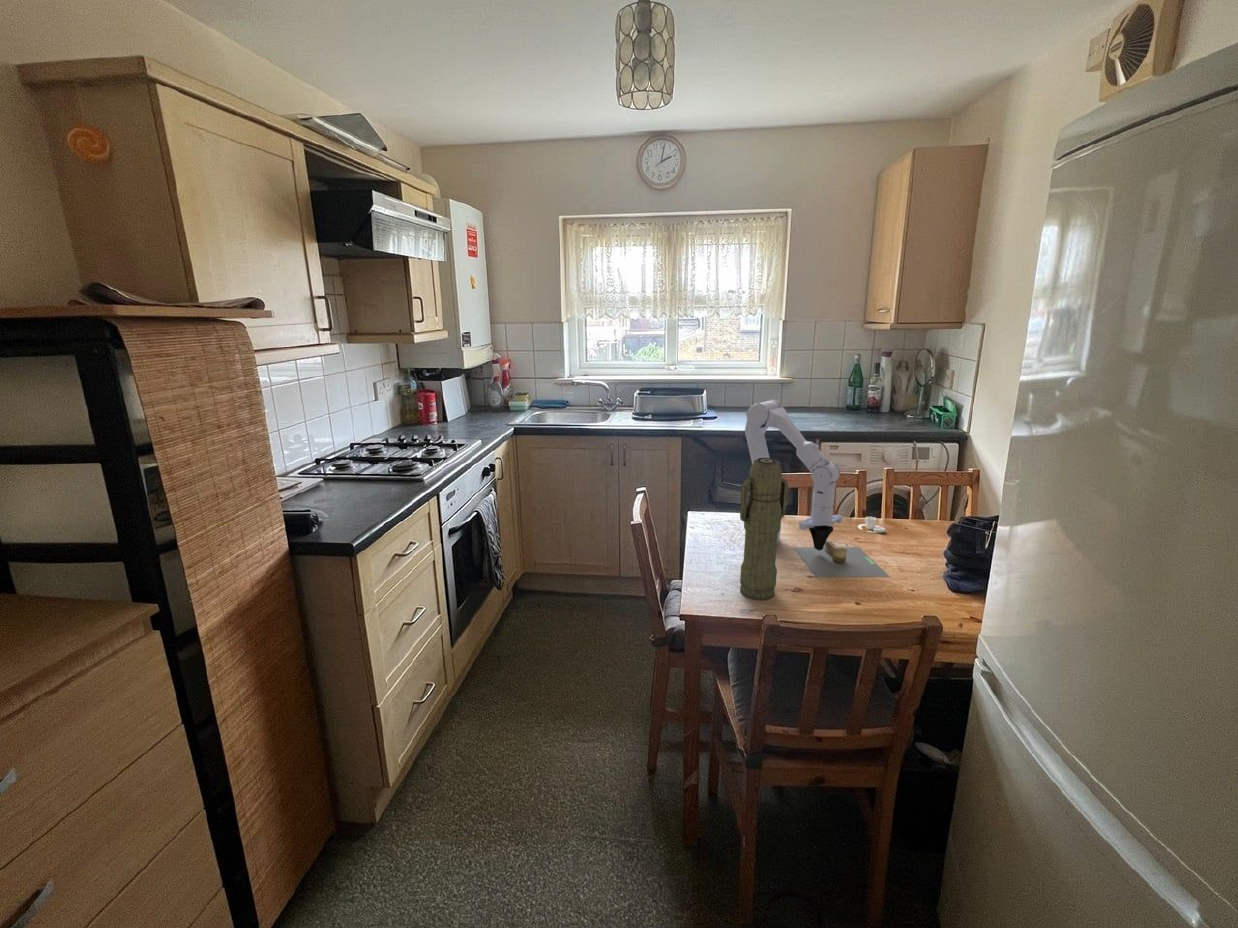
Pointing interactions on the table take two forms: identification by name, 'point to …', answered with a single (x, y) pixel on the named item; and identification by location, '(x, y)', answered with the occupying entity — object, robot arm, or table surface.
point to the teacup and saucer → (872, 525)
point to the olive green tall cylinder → (761, 527)
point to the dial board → (840, 563)
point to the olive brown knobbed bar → (835, 551)
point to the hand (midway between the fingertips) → (818, 548)
